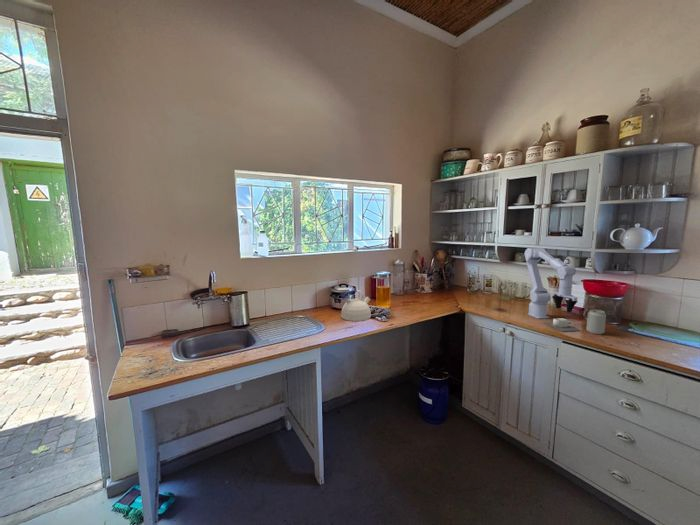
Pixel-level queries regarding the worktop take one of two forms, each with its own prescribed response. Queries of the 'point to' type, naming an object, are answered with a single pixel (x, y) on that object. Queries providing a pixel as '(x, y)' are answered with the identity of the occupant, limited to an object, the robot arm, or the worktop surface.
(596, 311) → the can
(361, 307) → the kettle
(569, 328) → the mat
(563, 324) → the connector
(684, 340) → the worktop surface
